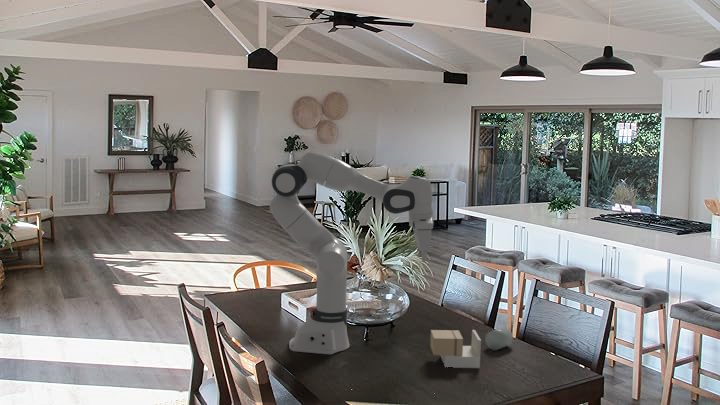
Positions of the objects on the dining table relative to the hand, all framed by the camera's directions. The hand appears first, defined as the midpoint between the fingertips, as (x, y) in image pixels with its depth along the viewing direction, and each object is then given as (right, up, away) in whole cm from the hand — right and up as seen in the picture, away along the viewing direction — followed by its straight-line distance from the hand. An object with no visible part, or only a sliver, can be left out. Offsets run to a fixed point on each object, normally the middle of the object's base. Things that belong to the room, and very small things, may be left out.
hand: (422, 258), depth 239 cm
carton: (+7, -32, -9) cm, 34 cm away
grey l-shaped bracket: (+12, -36, -8) cm, 39 cm away
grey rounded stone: (+27, -31, +5) cm, 41 cm away
